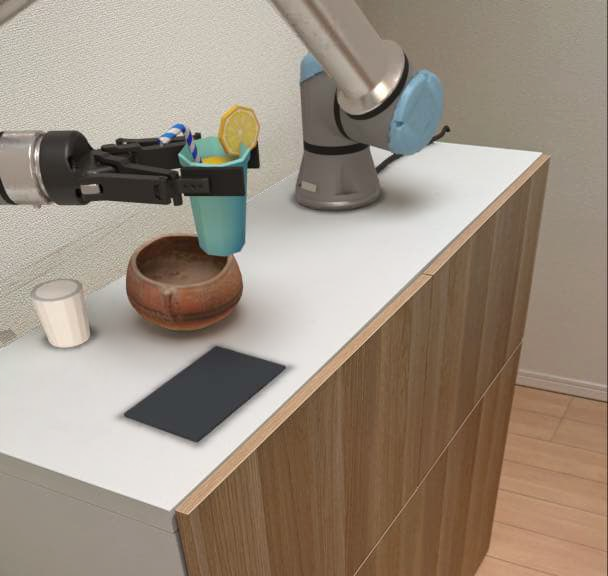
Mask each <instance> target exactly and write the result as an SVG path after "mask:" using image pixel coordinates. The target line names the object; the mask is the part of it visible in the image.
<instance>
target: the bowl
mask: <svg viewBox="0 0 608 576" xmlns="http://www.w3.org/2000/svg"><path fill="white" fill-rule="evenodd" d="M125 291H126V296H127V299H128V302H129V303H130V306H132V308H133V309H134V310H135V311H136V312H137V313H138V315H140V316H141V318H144V319H145V320H146V321H148V322H150V323H151V324H153V325H156V326H159V327H161V328H164V329H169V330H172V331H198V330H201V329H204V328H206V327H210V326H212V325H214V324H216V323H218V322H220V321H222V320H224V319H225V318H226V317H228V316H229V315H231V313H232V312H233V310H234V309H235V308H236V307H237V305H238V304H239V302H240V300H241V299H242V296H243V292H244V281H243V274H242V272H241V267H240V266H239V263H238V261H237V259H236V257H235V255H234V254H231V255H228V256H217V255H208V254H207V253H206V252H205V251H204V250H203V249H201V248H200V245H199V241H198V236H197V233H195V232H194V233H193V232H173V233H166V234H161V235H158V236H155V237H152V238H151V239H149V240H147V241H145V242H144V243H142V244H141V245H140V246H138V247H137V248H136V249H135V250H134V251H133V253H132V254H131V255H130V258H129V261H128V264H127V268H126V273H125Z"/></svg>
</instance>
